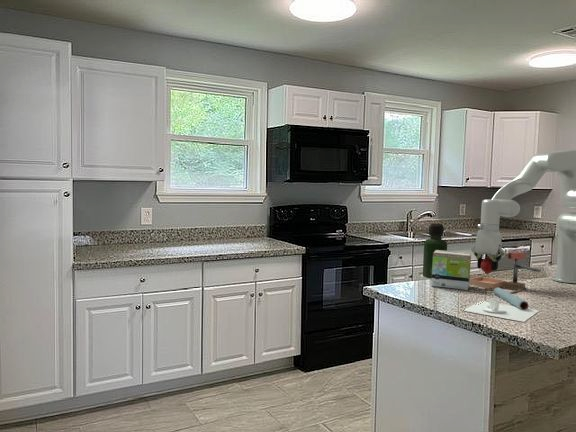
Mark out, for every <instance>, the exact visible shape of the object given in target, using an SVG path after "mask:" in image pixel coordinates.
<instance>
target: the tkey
mask: <svg viewBox="0 0 576 432" xmlns="http://www.w3.org/2000/svg"><path fill="white" fill-rule="evenodd" d="M507 254H508V255H507V258H508V259H509V260H513V266H512V267H513V268H512V269H513V270H512V271H513V272H512V281H513V282H514V283H517V282H518V279H519V277H518V275H519V269H523V270H527V271H531V272H535V273H540V272H542V271H541V269H540V268H536V267H531V266H527V265H522V264H519V261H520V260H524V259H525V257H526V253H525V252H522V251H521V252H518V251H516V252H508V253H507Z"/></svg>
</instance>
